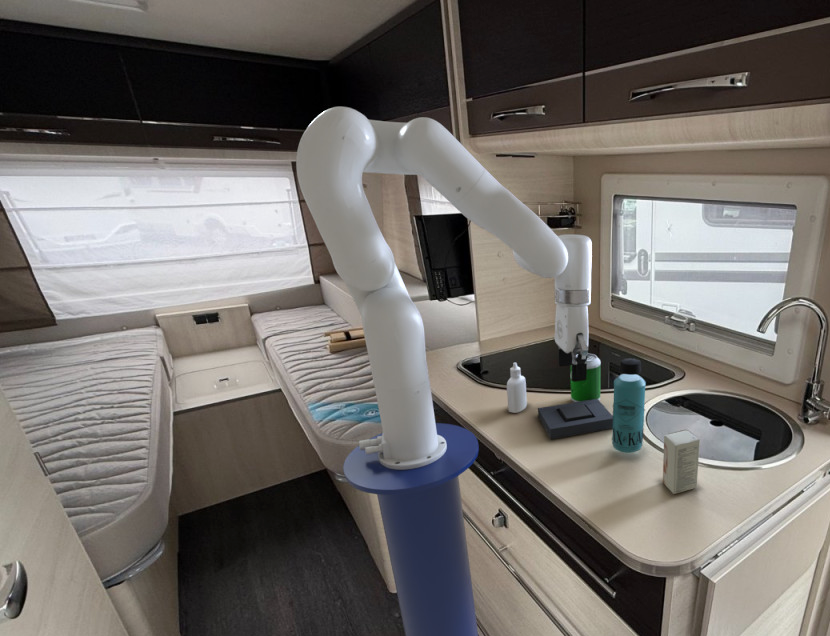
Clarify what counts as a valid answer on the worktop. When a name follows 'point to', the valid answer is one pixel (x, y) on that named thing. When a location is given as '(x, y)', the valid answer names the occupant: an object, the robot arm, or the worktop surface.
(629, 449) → the beverage bottle
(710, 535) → the worktop surface
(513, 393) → the eye dropper bottle
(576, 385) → the soda can
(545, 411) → the socket block
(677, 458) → the medicine box
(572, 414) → the black block
